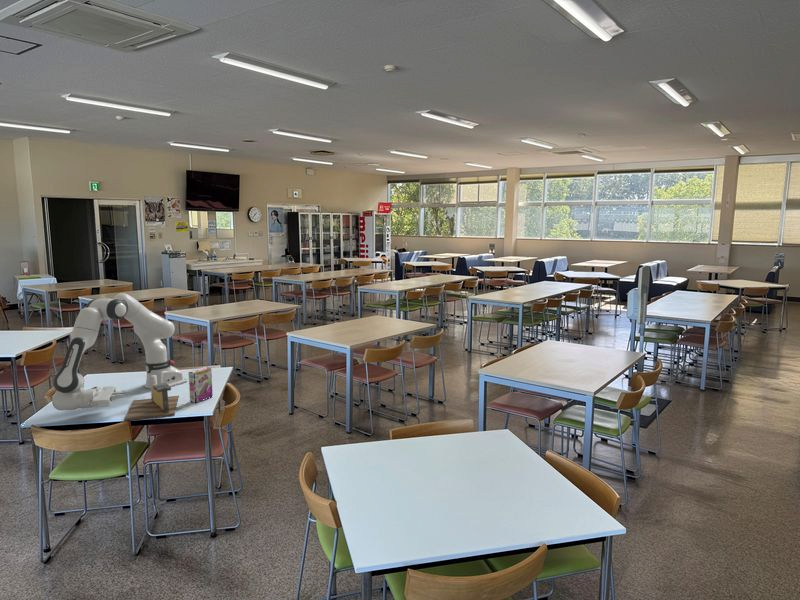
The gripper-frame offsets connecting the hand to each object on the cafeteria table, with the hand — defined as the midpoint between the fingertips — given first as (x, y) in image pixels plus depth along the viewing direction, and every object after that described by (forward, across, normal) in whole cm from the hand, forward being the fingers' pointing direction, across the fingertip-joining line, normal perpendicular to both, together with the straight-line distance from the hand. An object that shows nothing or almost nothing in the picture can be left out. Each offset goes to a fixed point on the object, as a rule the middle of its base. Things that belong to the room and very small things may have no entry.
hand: (123, 394), depth 264 cm
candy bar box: (+36, +8, +10) cm, 38 cm away
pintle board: (+13, +1, +9) cm, 16 cm away
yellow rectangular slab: (+16, +3, +8) cm, 18 cm away
